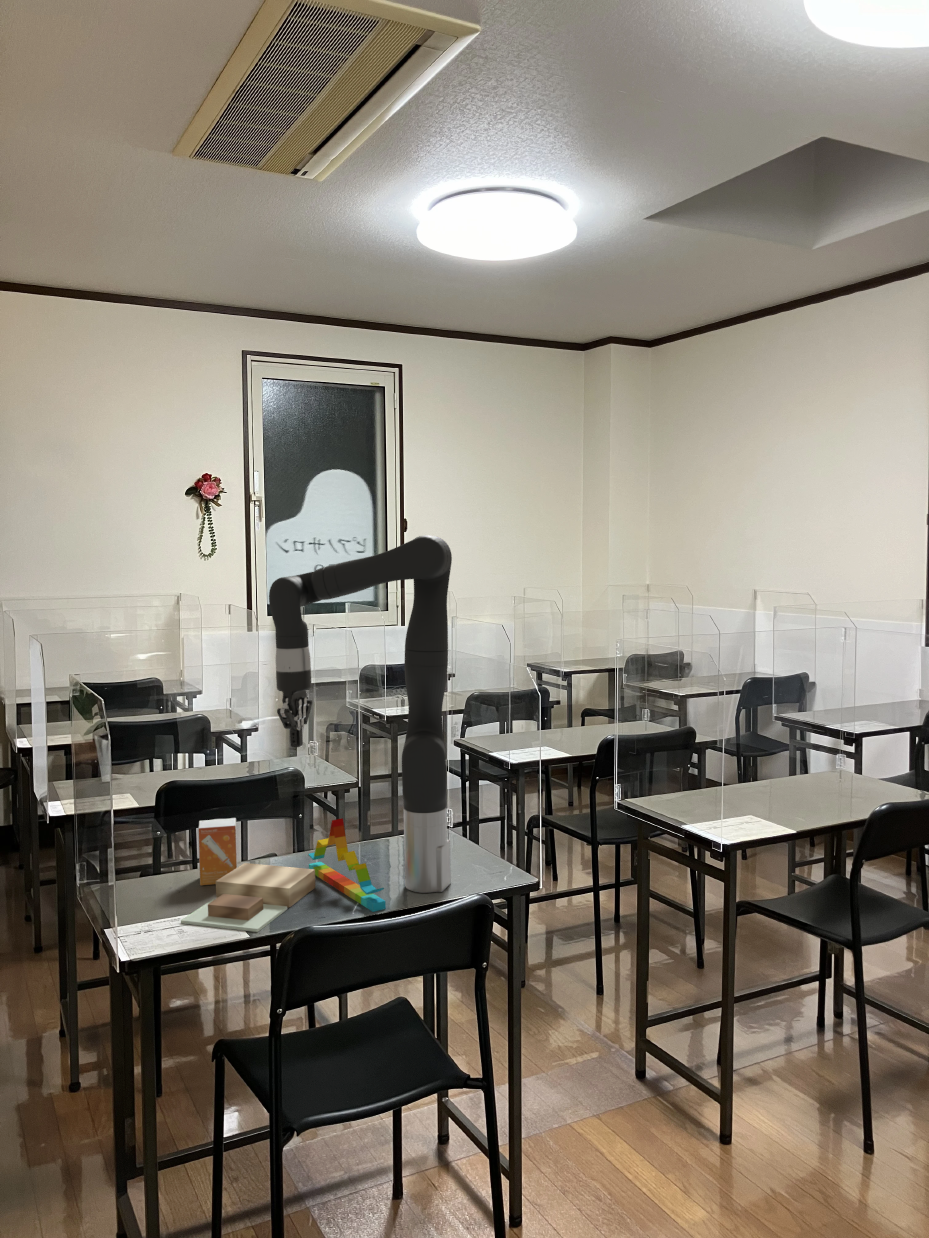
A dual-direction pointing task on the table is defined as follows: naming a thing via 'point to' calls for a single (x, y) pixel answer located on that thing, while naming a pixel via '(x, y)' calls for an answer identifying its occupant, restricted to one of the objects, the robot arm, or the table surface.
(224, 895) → the walnut tile
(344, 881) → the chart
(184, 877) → the table surface
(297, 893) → the birch deck
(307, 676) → the robot arm
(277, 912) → the sage mat
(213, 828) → the small box
